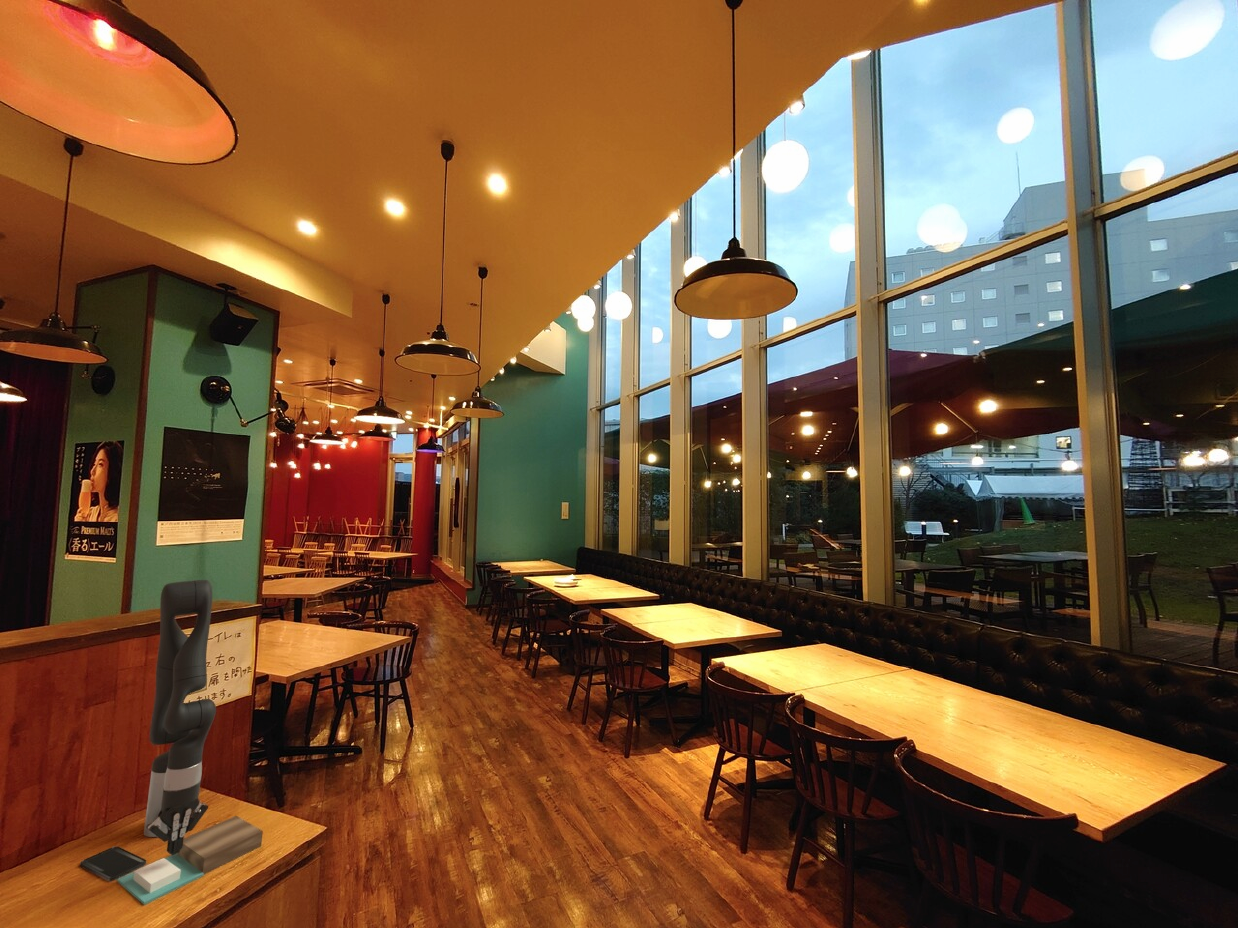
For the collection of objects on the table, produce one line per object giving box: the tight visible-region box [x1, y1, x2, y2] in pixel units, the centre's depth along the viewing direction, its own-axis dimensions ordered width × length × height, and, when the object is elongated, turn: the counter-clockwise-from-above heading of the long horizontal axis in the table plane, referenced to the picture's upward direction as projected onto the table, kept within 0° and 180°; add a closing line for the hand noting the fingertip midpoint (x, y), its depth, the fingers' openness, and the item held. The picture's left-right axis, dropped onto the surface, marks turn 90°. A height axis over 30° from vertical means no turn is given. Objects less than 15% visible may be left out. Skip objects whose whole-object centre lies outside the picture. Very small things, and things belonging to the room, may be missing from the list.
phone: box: [79, 845, 147, 882], centre depth 137 cm, size 8×1×15 cm
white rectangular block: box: [133, 857, 181, 893], centre depth 131 cm, size 9×6×2 cm, turn 62°
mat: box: [117, 854, 205, 906], centre depth 132 cm, size 15×12×1 cm
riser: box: [177, 815, 264, 875], centre depth 144 cm, size 14×14×4 cm
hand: (174, 852), depth 135 cm, fingers closed
